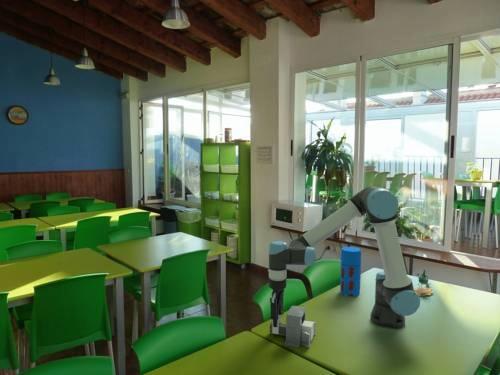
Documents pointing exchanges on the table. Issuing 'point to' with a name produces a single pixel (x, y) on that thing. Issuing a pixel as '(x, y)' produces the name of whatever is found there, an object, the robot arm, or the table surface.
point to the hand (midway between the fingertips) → (276, 331)
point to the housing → (297, 328)
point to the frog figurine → (423, 290)
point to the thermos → (350, 271)
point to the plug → (306, 327)
